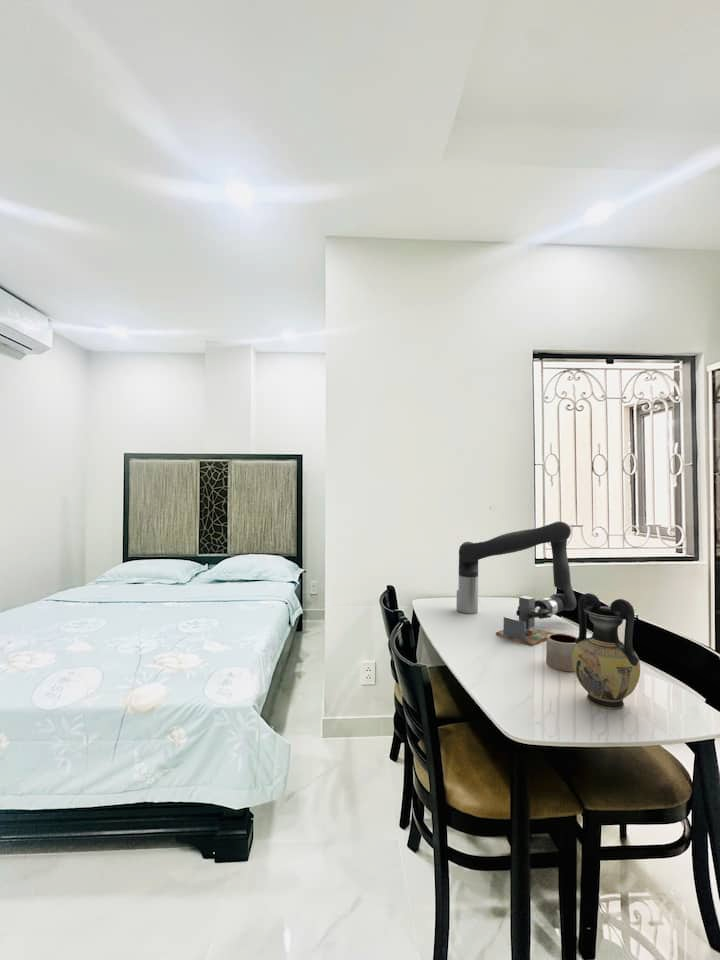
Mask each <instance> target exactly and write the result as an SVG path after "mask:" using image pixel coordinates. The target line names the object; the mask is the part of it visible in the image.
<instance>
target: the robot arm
mask: <svg viewBox="0 0 720 960" xmlns="http://www.w3.org/2000/svg"><path fill="white" fill-rule="evenodd" d="M571 533H572V529H571V527H570V525H569V524H568V523H566V522H564V521H554V522H552V523H549V524H546V525H544V526H540V527H536V528H530V529H522V530H518V531H517V530H516V531H512V532H508V533H507V532H506V533H504V534H500V535H498V536H496V537H494V538H493V537H492V538H490V539H488V540H485V541H480V542H471V541H465V542H463V543H461V544H460V546H459V549H458V590H456V611H458V612H459V613H463V614H471V615H472V614H478V612H479V610H478V609H479V607H478V606H479V604H478V603H479V560H483V559H485V558H486V559H487V558H489V557H492V556H493V557H494V556H502V555H505V554H506V555H507V554H512V553H513V554H514V553H517V552H522V551H524V550H525V551H526V550H527V549H528V550H529V549H531V548H533V547H537V546H539V545H541V544H547V543H550V546H551V553H552V570H553V571H552V573H553V574H552V575H553V585H554V587H555V588H556V589H560V590H562V591H563V593H554V594H551V595H550V596H549V597H544V598H540V599H538V600H535V611H534V612H530V613H528V618H529V619H531V618H535V619H537V618H538V619H541V620H542V619H549V618H552V616H553V615H556V614H558V613H560V612H562V611H574V610H575V609H576V608H577V599H576V596H575V592H574V590H573V586H572V582H571V572H570V571H571V570H570V565H569V561H568V552H567V545H568V542H567V541H568V539H569V538H570V536H571ZM515 614H516V616H518V617H519V605H518V606H517V610H516V613H515Z"/></svg>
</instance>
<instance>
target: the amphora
mask: <svg viewBox="0 0 720 960" xmlns="http://www.w3.org/2000/svg"><path fill="white" fill-rule="evenodd" d="M577 609H578V632H579V633H578V637H577V639H576V640H575V643H576V644H577V645H576V646H575V648H574V650H573V655H572V661H573V668H574V671H575V672H574V673H575V676H576V678H577V681H578V682H579V684H580V685H581V686H582V688H583V689H584V690H585V691H586V692H587V696H586V699H587V700H588V701H589V702H590V703H591V704H593V705H595V706H597V707H600V708H603V709H608V710H609V709H610V710H619V709H618V708H620V709H622V708H623V707H624V706H625V702H624V699H626V698H627V697H629V696H630V695H631V694H632V693H634V692H633V691H634V690H635V689H636V687H637V685H638V683H639V679H640V677H641V662H640V658H639V656H638V655H637V653H636V651H635V650H634V647H633V635H634V623H635V610H634V606H633V605H632V604H631V602H629V601H628V600H625V599H622V598H618V599H615V600H613V601H612V602H611V604H610V606H603V605H602V606H601V601H600V599H599V597H598V596H597V595H595V594H593V593H584V594H581V596H580V597H579V599H578V605H577ZM587 614H588V619H589V621H590V622H591V623H592V625H593V631H592V635H591V636H590V637H587V631H588V625H587V623H588V621H587ZM624 620H625V625H624V637H623V641H621V640H620V637H619V633H618V629H619V627H620V626H621V625H622V624H623V622H624ZM621 707H622V708H621Z"/></svg>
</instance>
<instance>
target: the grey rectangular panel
mask: <svg viewBox="0 0 720 960" xmlns="http://www.w3.org/2000/svg"><path fill="white" fill-rule="evenodd" d="M503 630H504V635H507V636H511V637H514V638H517V639H521V640H526V622H525V621H521V620H519V619H516V618H512V617H510V616H505V615H504V616H503Z"/></svg>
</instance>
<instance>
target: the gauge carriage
mask: <svg viewBox="0 0 720 960" xmlns="http://www.w3.org/2000/svg"><path fill="white" fill-rule="evenodd" d="M535 601H536V598H535V596H534V597H532V596H527V595H523V596H519V597H518V606H519V616H518V620H521V621H525V622H526V634H527V635H533V634H534V633H537V629H538V627H537V626H535V622H536V621H535V619H536V618H531V619H529V618H528V613H530V612H534V611H535Z"/></svg>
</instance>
